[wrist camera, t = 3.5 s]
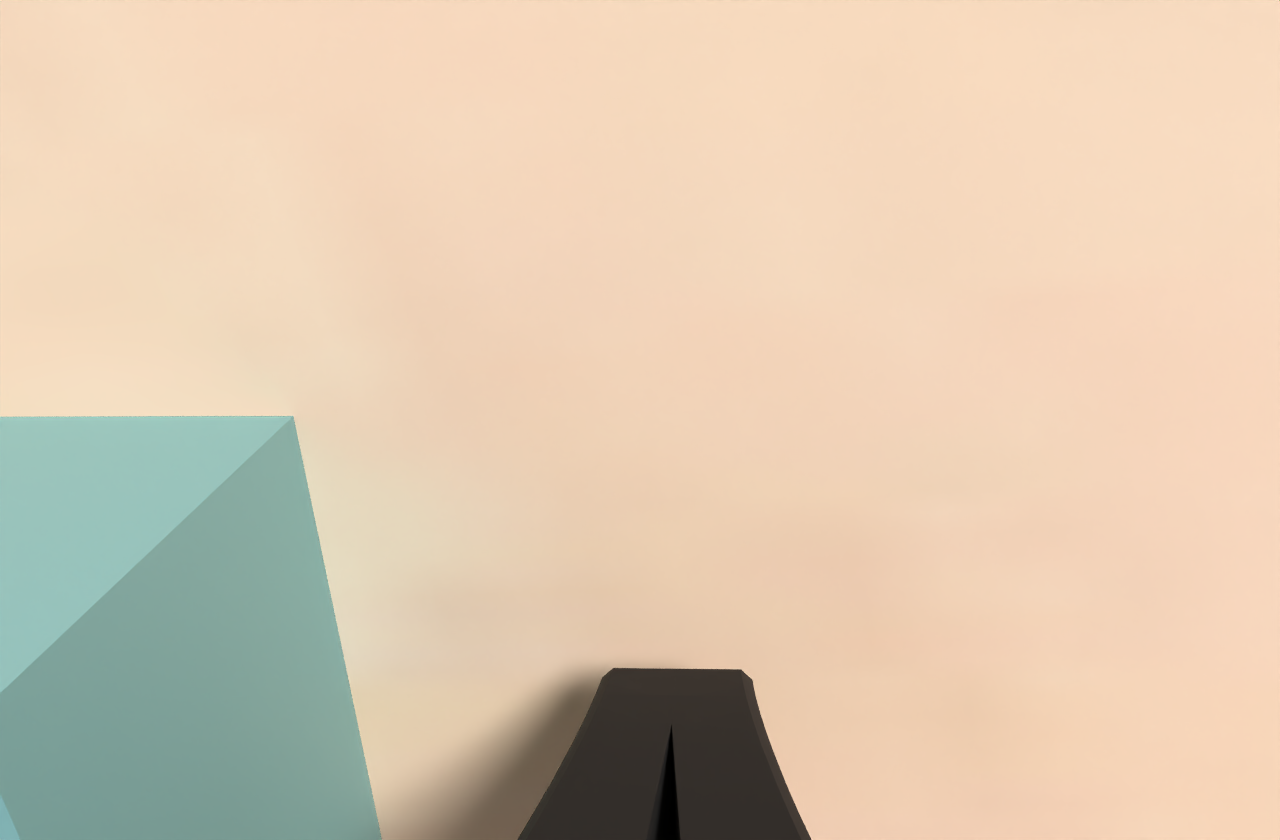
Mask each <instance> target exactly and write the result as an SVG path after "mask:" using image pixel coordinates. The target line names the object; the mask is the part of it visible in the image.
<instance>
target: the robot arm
mask: <svg viewBox="0 0 1280 840" xmlns="http://www.w3.org/2000/svg"><path fill="white" fill-rule="evenodd" d="M518 840H811V838H810V836H809V834H808V831H807V829H806V827H805V825H804V823H803V821H802V819H801V817H800V815H799V813H798V810H797V808H796V806H795V803H794V801H793V799H792V797H791V794H790V792H789V790H788V787H787V785H786V783H785V780H784V778H783V775H782V773H781V770H780V767H779V765H778V762H777V760H776V757H775V755H774V752H773V750H772V747H771V744H770V741H769V739H768V736H767V733H766V730H765V727H764V724H763V721H762V718H761V715H760V711H759V708H758V704H757V700H756V696H755V692H754V687H753V681H752V679H751V678H750V677H748V676H747V675H746V674H745V673H744V672H743V671H742V670H733V669H639V668H613V669H612V670H611V671H610V672H608V673H607V674H606V675H605V676H604V677H602V680H601V682H600V685H599V687H598V690H597V692H596V695H595V697H594V699H593V702H592V704H591V706H590V708H589V710H588V713H587V715H586V717H585V719H584V721H583V723H582V725H581V727H580V729H579V731H578V733H577V735H576V737H575V739H574V741H573V743H572V745H571V747H570V749H569V751H568V753H567V754H566V756H565V758H564V760H563V762H562V764H561V766H560V768H559V769H558V771H557V773H556V775H555V777H554V779H553V780H552V782H551V784H550V786H549V787H548V789H547V791H546V792H545V794H544V796H543V798H542V799H541V801H540V803H539V804H538V806H537V808H536V809H535V811H534V813H533V814H532V816H531V818H530V820H529V821H528V823H527V825H526V826H525V828H524V830H523V831H522V833H521V835H520V837H519V838H518Z"/></svg>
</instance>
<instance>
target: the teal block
mask: <svg viewBox="0 0 1280 840" xmlns="http://www.w3.org/2000/svg"><path fill="white" fill-rule="evenodd" d="M0 840H382V838H381V833H380V829H379V824H378V819H377V814H376V810H375V805H374V800H373V795H372V790H371V786H370V781H369V776H368V771H367V766H366V762H365V757H364V752H363V747H362V743H361V738H360V733H359V728H358V723H357V719H356V714H355V709H354V704H353V700H352V695H351V690H350V685H349V680H348V676H347V671H346V666H345V661H344V657H343V652H342V647H341V642H340V637H339V633H338V628H337V623H336V618H335V613H334V609H333V604H332V599H331V594H330V590H329V585H328V580H327V575H326V570H325V566H324V561H323V556H322V551H321V547H320V542H319V537H318V532H317V527H316V523H315V518H314V513H313V508H312V504H311V499H310V494H309V489H308V484H307V480H306V475H305V470H304V465H303V461H302V456H301V451H300V446H299V441H298V437H297V432H296V427H295V422H294V417H293V416H146V417H0Z"/></svg>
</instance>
